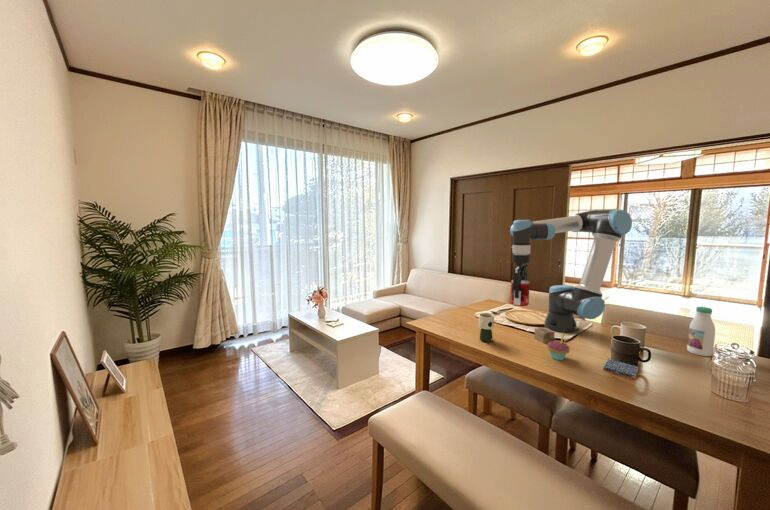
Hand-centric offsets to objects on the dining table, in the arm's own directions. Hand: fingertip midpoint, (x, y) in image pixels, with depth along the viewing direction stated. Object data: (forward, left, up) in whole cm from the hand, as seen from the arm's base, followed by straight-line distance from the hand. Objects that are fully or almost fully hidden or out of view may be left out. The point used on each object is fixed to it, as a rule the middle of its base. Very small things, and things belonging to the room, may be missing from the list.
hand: (519, 302), depth 139 cm
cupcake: (-13, +11, -21) cm, 27 cm away
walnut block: (-14, -8, -21) cm, 27 cm away
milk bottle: (-74, 0, -21) cm, 77 cm away
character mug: (+14, -5, -21) cm, 26 cm away
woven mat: (-33, +19, -22) cm, 44 cm away
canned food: (0, 0, -1) cm, 1 cm away
